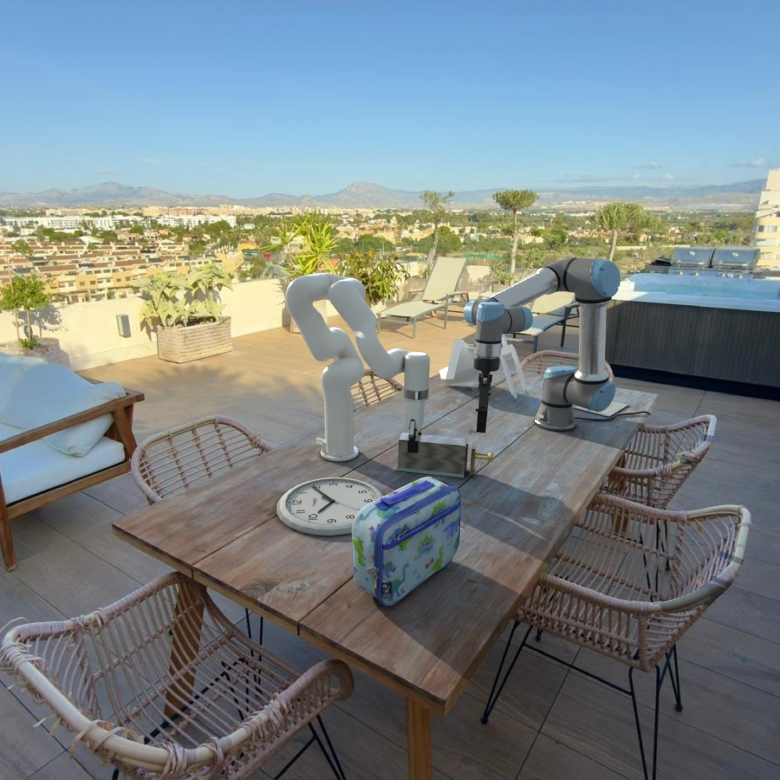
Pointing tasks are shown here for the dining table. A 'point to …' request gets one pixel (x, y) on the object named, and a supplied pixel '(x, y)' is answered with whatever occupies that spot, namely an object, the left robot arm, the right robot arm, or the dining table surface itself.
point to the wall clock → (325, 505)
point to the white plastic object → (465, 372)
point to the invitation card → (607, 409)
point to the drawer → (476, 457)
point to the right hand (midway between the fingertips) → (481, 424)
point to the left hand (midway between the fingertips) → (414, 447)
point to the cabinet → (433, 455)
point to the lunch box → (405, 538)
